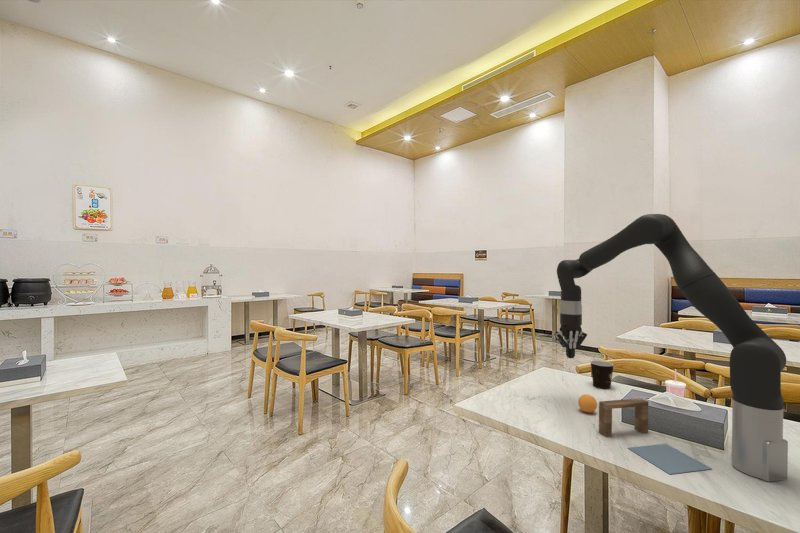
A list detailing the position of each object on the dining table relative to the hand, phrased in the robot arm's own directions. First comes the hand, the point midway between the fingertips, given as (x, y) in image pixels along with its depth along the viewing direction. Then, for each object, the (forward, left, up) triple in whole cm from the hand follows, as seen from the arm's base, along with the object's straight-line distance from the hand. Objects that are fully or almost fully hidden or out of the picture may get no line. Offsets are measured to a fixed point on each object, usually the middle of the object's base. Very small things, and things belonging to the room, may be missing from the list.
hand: (570, 357), depth 137 cm
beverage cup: (-12, -35, -17) cm, 41 cm away
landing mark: (-41, 0, -17) cm, 44 cm away
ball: (-10, 0, -14) cm, 17 cm away
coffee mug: (+12, -23, -17) cm, 31 cm away
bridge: (-26, 0, -17) cm, 31 cm away
